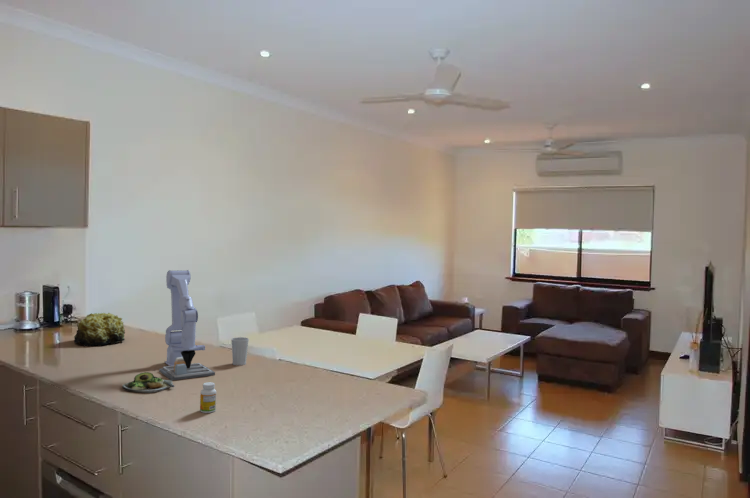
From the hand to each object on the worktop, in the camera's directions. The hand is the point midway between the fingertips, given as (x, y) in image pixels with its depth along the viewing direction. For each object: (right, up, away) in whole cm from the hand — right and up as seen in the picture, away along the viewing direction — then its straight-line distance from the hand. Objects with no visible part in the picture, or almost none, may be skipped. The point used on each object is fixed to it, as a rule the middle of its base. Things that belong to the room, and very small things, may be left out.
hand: (187, 367), depth 245 cm
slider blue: (0, -2, -8) cm, 8 cm away
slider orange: (-3, -1, -2) cm, 4 cm away
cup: (+18, -3, +21) cm, 28 cm away
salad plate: (-9, -4, -22) cm, 24 cm away
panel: (0, -3, 0) cm, 3 cm away
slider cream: (-4, -1, +4) cm, 6 cm away
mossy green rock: (-67, +2, +56) cm, 87 cm away
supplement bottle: (+23, -5, -48) cm, 54 cm away
